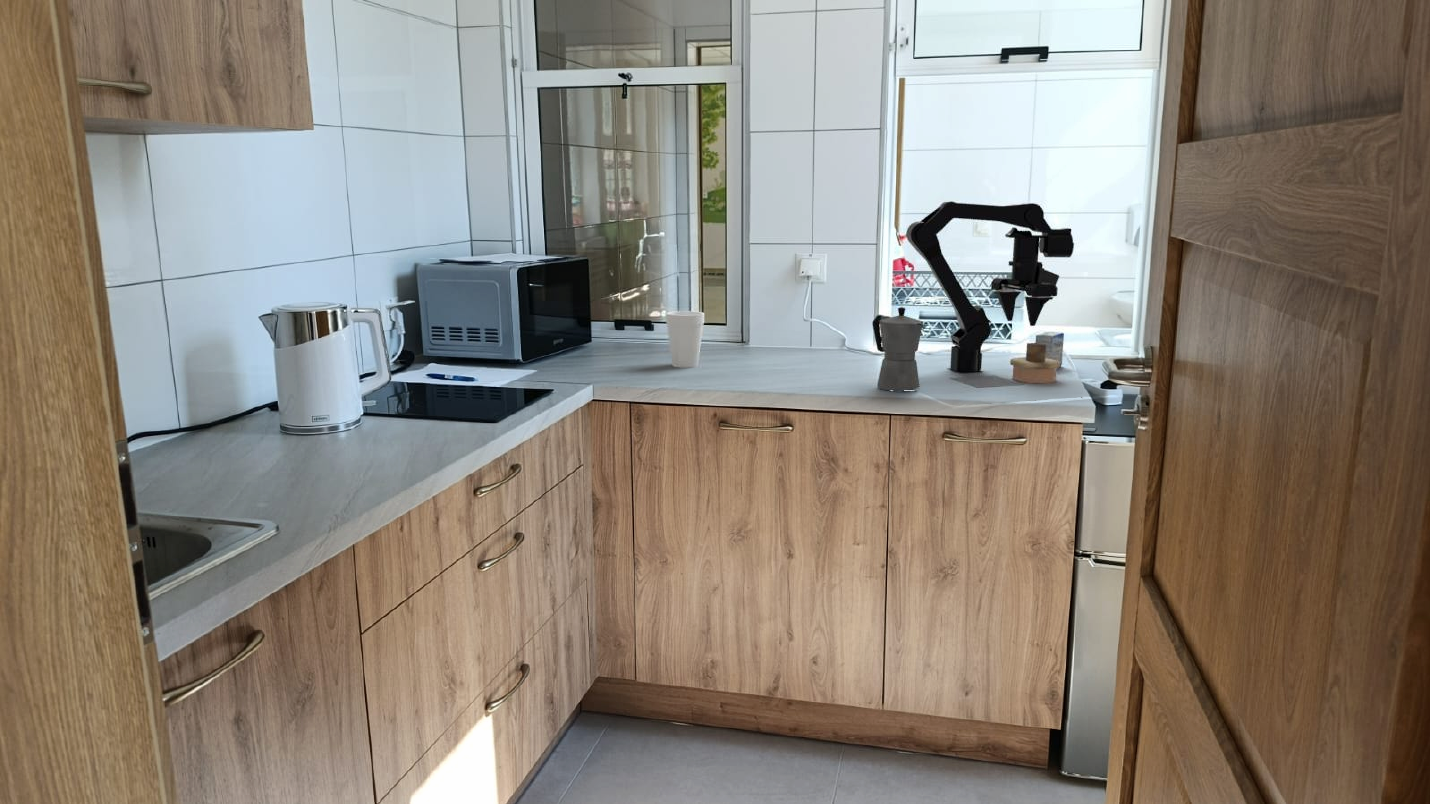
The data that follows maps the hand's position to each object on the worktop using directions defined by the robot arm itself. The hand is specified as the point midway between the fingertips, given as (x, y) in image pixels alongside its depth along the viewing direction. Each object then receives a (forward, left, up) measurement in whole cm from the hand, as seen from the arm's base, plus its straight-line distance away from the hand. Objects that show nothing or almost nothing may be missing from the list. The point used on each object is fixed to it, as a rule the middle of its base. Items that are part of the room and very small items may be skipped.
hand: (1021, 323), depth 242 cm
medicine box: (+11, +4, -12) cm, 17 cm away
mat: (-15, -10, -12) cm, 22 cm away
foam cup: (-74, +32, -12) cm, 82 cm away
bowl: (-3, -11, -12) cm, 17 cm away
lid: (-3, -11, -8) cm, 14 cm away
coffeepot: (-37, -8, -12) cm, 40 cm away
